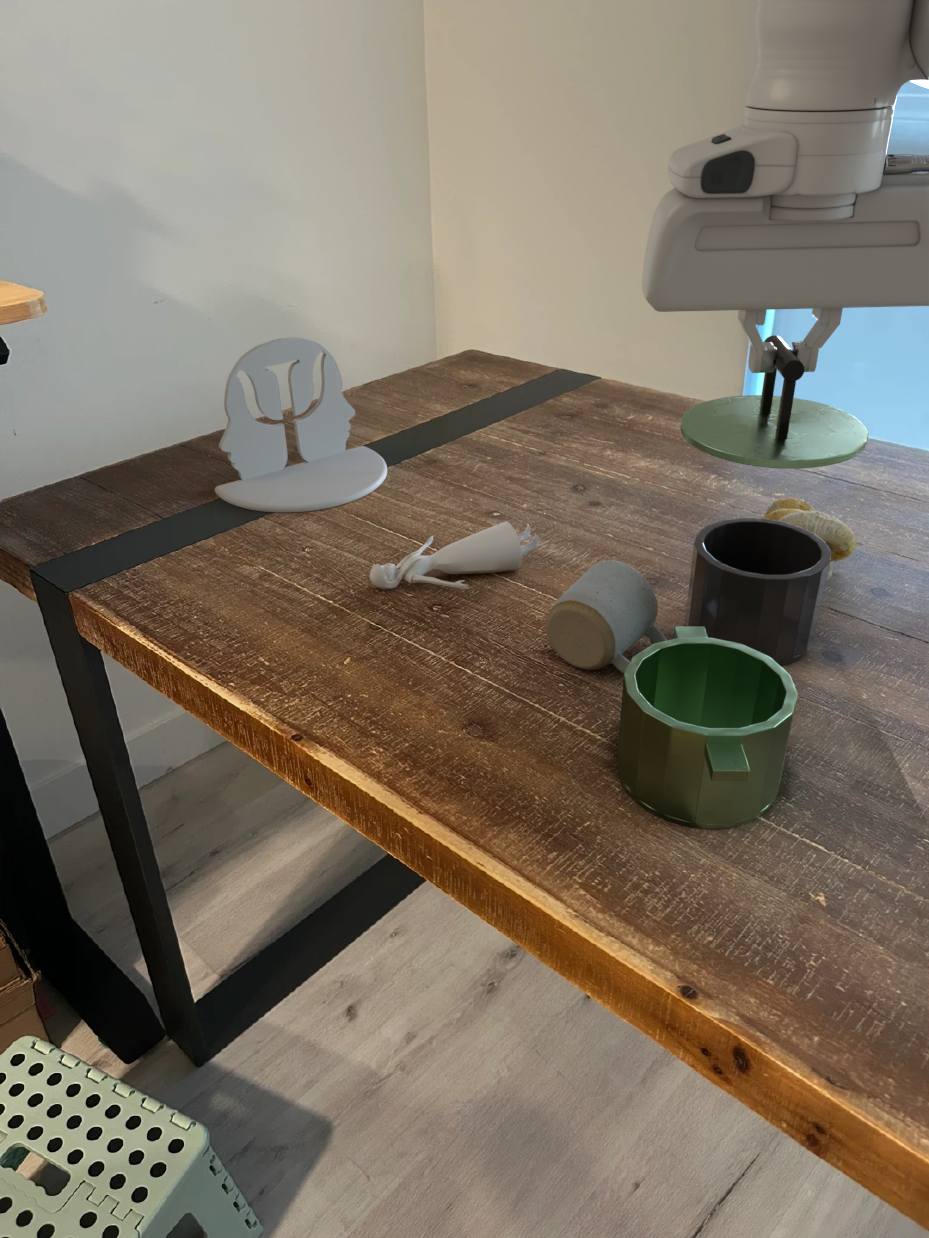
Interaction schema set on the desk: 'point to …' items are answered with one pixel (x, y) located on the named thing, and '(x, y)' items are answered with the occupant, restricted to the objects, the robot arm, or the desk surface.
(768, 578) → the black cup
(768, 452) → the pot lid
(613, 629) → the ceramic mug
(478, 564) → the woman figurine
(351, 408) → the ornament
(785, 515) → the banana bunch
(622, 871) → the desk surface
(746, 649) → the pot
